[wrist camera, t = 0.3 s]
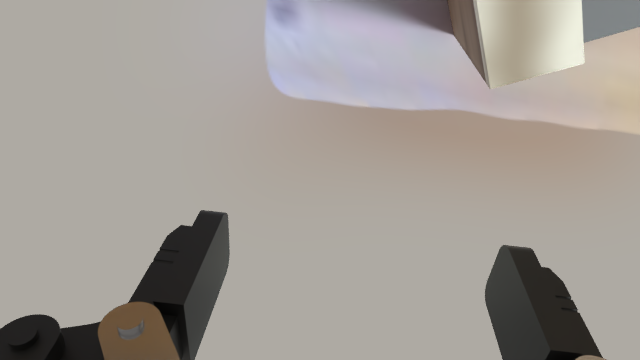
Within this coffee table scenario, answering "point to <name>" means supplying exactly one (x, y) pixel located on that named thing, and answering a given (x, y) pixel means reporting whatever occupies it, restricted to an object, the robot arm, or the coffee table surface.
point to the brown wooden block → (518, 37)
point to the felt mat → (609, 17)
